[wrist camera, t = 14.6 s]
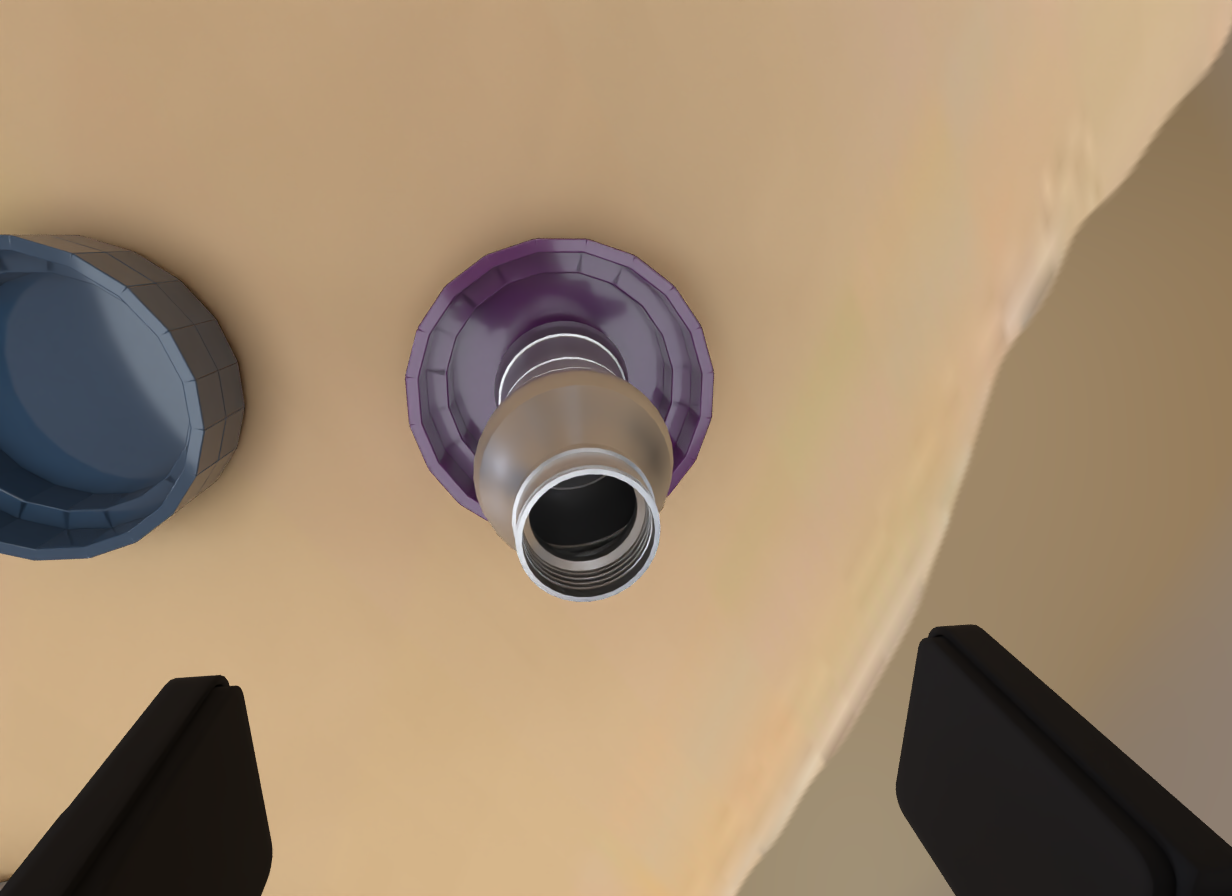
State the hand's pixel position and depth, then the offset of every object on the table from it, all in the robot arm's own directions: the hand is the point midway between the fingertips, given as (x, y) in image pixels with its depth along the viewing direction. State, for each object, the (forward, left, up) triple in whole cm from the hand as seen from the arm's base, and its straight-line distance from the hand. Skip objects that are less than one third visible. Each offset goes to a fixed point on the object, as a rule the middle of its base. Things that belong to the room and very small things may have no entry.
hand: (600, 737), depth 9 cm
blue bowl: (+1, -22, -28) cm, 36 cm away
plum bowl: (+1, +1, -28) cm, 28 cm away
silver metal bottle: (0, 0, -28) cm, 28 cm away
